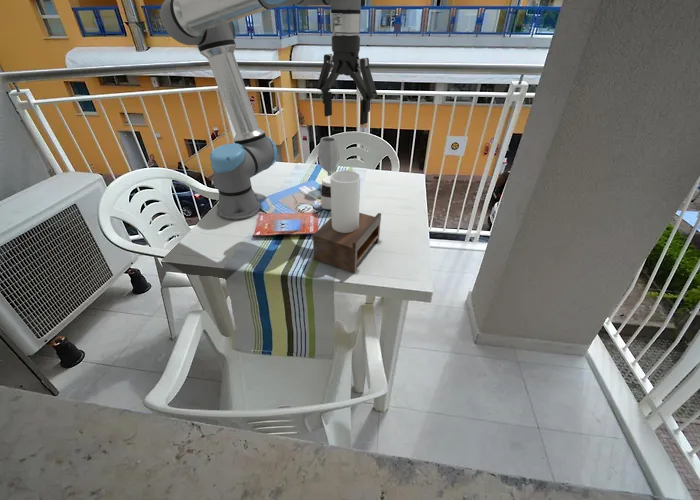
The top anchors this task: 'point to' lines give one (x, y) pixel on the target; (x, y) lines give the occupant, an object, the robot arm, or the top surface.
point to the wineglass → (328, 154)
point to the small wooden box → (346, 242)
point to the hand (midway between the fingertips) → (345, 119)
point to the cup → (345, 200)
